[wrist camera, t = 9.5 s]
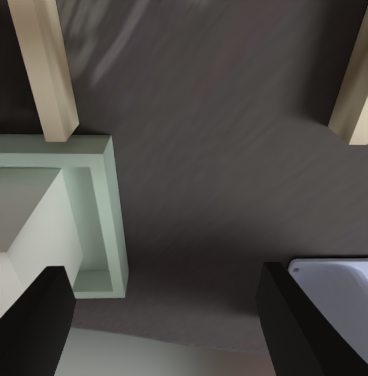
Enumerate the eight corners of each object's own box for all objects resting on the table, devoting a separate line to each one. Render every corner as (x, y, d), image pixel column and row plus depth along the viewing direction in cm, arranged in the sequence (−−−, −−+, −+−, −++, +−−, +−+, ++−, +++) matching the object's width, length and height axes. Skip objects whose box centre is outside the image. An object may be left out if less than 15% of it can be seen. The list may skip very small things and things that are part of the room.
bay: (343, 127, 17) (366, 144, 15) (62, 123, 16) (45, 141, 14) (433, -121, 11) (492, -148, 9) (1, -142, 11) (-41, -177, 8)
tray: (129, 272, 24) (124, 297, 22) (2, 273, 24) (-14, 299, 22) (111, 135, 17) (102, 154, 15) (-70, 133, 17) (-104, 152, 14)
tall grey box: (85, 263, 22) (54, 354, 17) (34, 263, 22) (-15, 356, 17) (61, 168, 18) (6, 252, 12) (-4, 168, 17) (-93, 252, 12)
